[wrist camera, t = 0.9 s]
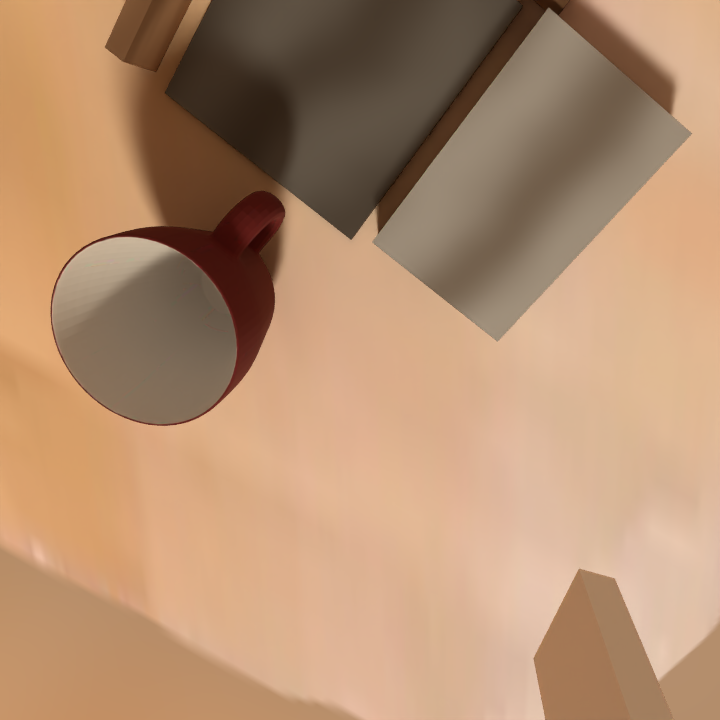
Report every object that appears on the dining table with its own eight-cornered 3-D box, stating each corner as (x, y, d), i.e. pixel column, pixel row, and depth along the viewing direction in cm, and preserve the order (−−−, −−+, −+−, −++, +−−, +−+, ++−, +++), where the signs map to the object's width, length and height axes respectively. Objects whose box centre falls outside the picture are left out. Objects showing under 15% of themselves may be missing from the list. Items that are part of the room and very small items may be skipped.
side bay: (135, 67, 28) (100, 57, 25) (289, -252, 22) (267, -311, 20) (481, 340, 30) (484, 359, 27) (695, 107, 24) (727, 100, 22)
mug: (221, 139, 28) (111, 127, 19) (351, 223, 29) (307, 253, 19) (146, 303, 32) (24, 360, 23) (262, 375, 32) (189, 460, 23)
